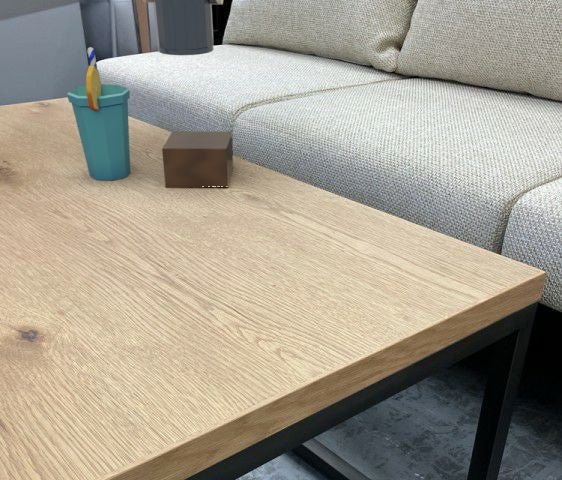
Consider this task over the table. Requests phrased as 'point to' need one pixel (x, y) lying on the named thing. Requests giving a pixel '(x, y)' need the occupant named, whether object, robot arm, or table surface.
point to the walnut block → (198, 159)
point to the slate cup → (183, 26)
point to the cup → (102, 124)
